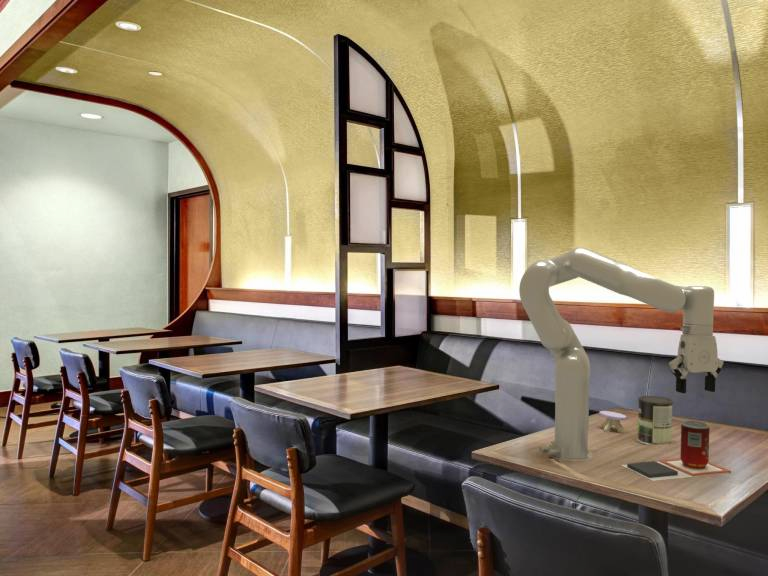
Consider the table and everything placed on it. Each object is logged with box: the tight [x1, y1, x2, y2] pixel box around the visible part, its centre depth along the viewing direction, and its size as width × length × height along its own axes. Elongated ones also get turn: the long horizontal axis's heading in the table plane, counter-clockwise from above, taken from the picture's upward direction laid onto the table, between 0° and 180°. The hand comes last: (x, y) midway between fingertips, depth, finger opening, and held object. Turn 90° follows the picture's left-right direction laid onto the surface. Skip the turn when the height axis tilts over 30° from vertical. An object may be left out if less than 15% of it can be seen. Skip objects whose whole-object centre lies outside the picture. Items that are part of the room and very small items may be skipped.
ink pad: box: [626, 460, 678, 479], centre depth 169 cm, size 9×9×1 cm
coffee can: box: [636, 395, 674, 446], centre depth 201 cm, size 10×10×14 cm
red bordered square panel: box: [659, 457, 732, 477], centre depth 173 cm, size 13×13×1 cm
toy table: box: [598, 410, 627, 434], centre depth 216 cm, size 10×9×6 cm
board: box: [621, 461, 727, 482], centre depth 171 cm, size 24×13×1 cm, turn 106°
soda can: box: [679, 420, 710, 470], centre depth 172 cm, size 7×7×12 cm
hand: (695, 391), depth 172 cm, fingers open, 9 cm apart
